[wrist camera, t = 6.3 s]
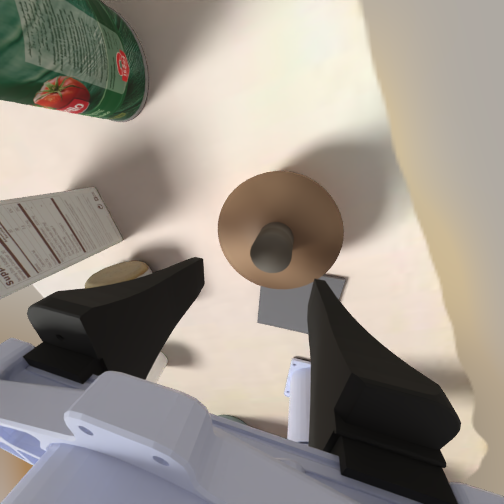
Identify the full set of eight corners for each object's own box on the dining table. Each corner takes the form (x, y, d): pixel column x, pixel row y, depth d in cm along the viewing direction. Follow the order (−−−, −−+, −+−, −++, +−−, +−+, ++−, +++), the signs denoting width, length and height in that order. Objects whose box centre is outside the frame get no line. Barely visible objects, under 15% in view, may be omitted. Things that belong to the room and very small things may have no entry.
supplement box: (88, 247, 28) (-48, 306, 17) (57, 197, 25) (-130, 228, 14) (126, 241, 26) (-4, 304, 15) (96, 185, 23) (-91, 211, 12)
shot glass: (138, 338, 36) (105, 376, 30) (171, 353, 35) (144, 394, 29) (139, 359, 39) (108, 396, 33) (169, 372, 39) (144, 413, 33)
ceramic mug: (159, 256, 26) (107, 291, 19) (177, 304, 29) (139, 348, 22) (101, 257, 29) (40, 288, 22) (124, 301, 32) (76, 339, 26)
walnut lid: (326, 292, 18) (331, 324, 14) (222, 274, 19) (206, 298, 16) (358, 175, 13) (377, 182, 10) (219, 166, 15) (195, 169, 12)
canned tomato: (118, -18, 15) (-232, -345, 5) (163, 104, 18) (-4, 42, 8) (55, 35, 17) (-256, -115, 8) (104, 134, 20) (-77, 114, 11)
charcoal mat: (325, 335, 25) (326, 338, 25) (258, 320, 27) (257, 322, 26) (344, 278, 21) (345, 280, 20) (263, 264, 22) (262, 266, 22)
